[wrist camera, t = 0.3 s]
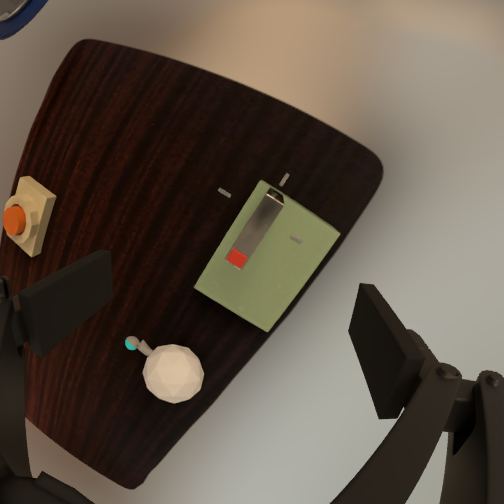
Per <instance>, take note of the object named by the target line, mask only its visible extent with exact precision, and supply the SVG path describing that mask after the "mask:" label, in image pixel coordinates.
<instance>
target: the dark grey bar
mask: <svg viewBox="0 0 504 504" xmlns="http://www.w3.org/2000/svg"><path fill="white" fill-rule="evenodd" d="M283 207H284V198H283V195H282V194H280V193H279V192H277V191H276V190H274V189H273V188H271V187H270V188H269V190H268V191H267V193H266V194H265V196H264V197H263V199H262V200H261V202H260V203H259V205H258V207H257V208H256V210H255V211H254V213H253V214H252V216H251V217H250V219H249V221H248V222H247V224H246V225H245V227H244V228H243V230H242V232H241V233H240V235H239V236H238V238H237V239H236V241H235V243H234V244H233V246H232V247H231V249H230V250H229V252H228V254H227V255H226V257H225V258H224V260H225V261H227V262H228V263H230V264H232V265H233V266H235V267H236V268H238V269H239V270H242V269H243V268H244V266H245V265H246V263H247V262H248V260H249V258H250V257H251V255H252V254H253V252H254V251H255V249H256V248H257V246H258V245H259V243H260V242H261V240H262V239H263V237H264V236H265V234H266V233H267V231H268V230H269V228H270V227H271V225H272V224H273V222H274V221H275V219H276V218H277V216H278V215H279V213H280V212H281V210H282V209H283Z"/></svg>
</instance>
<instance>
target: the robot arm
mask: <svg viewBox="0 0 504 504" xmlns="http://www.w3.org/2000/svg"><path fill="white" fill-rule="evenodd" d="M31 1H32V0H0V22H8V21H10V20H12V19H13V18H15V17H16V16H17V15H19V14H20V13H21V12H22V11H23V10H24V9H25V8H26V7H27V6H28V5H29V4H30V3H31ZM112 298H113V284H112V266H111V251H106V250H98V251H96V252H94V253H92V254H90V255H88V256H86V257H84V258H82V259H80V260H78V261H76V262H74V263H72V264H70V265H68V266H66V267H64V268H62V269H60V270H59V271H57V272H55V273H53V274H51V275H49V276H47V277H45V278H44V279H42V280H40V281H38V282H36V283H34V284H33V285H31V286H29V287H27V288H25V289H24V290H22V291H20V292H18V295H16V296H14V297H13V298H12V295H11V290H10V284H9V278H8V277H6V276H0V504H94V503H93V502H92V501H90V500H89V499H87V498H86V497H85V496H84V495H82V494H81V493H80V492H79V491H77V490H76V489H75V488H73V487H71V486H69V485H67V484H65V483H63V482H61V481H59V480H57V479H56V478H54V477H52V476H50V475H48V474H47V473H45V472H43V471H42V472H41V473H40V475H39V476H38V478H33V477H32V474H31V471H30V464H29V457H28V450H27V440H26V428H25V410H24V364H25V349H24V346H23V344H24V343H25V342H26V341H27V340H28V342H29V345H30V349H31V352H32V353H35V354H37V355H39V356H41V357H44V356H45V355H47V354H48V353H49V352H50V351H51V350H52V349H53V348H54V347H56V346H57V345H58V344H59V343H60V342H61V341H62V340H64V339H65V338H66V337H67V336H68V335H69V334H70V333H72V332H73V331H74V330H75V329H76V328H77V327H79V326H80V325H81V324H82V323H83V322H85V321H86V320H87V319H88V318H89V317H90V316H92V315H93V314H94V313H95V312H96V311H98V310H99V309H100V308H101V307H103V306H104V305H105V304H106V303H107V302H109V301H110V300H111V299H112ZM348 332H349V335H350V337H351V340H352V343H353V346H354V348H355V351H356V353H357V357H358V359H359V362H360V365H361V368H362V371H363V374H364V376H365V379H366V382H367V385H368V388H369V391H370V394H371V397H372V400H373V403H374V406H375V409H376V412H377V415H378V418H379V419H396V418H398V416H399V414H400V412H401V410H402V408H403V407H404V409H405V410H404V411H403V413H402V414H401V416H400V417H399V419H398V420H397V422H396V423H395V425H394V426H393V427H392V429H391V430H390V432H389V433H388V435H387V436H386V437H385V439H384V440H383V442H382V443H381V444H380V445H379V447H378V448H377V449H376V451H375V452H374V453H373V455H372V456H371V457H370V458H369V460H368V461H367V462H366V463H365V465H364V466H363V467H362V468H361V469H360V471H359V472H358V473H357V474H356V475H355V477H354V478H353V479H352V480H351V481H350V482H349V483H348V485H347V486H346V487H345V488H344V489H343V490H342V491H341V492H340V493H339V495H338V496H337V497H336V498H335V499H334V500H333V501H332V502H331V503H330V504H405V503H406V501H407V500H408V498H409V496H410V495H411V493H412V491H413V489H414V488H415V486H416V484H417V482H418V481H419V479H420V477H421V475H422V473H423V471H424V469H425V468H426V466H427V463H428V462H429V460H430V457H431V456H432V453H433V451H434V449H435V447H436V445H437V443H438V441H439V438H440V436H441V434H442V431H445V432H448V446H447V456H446V465H445V474H444V480H443V487H442V493H441V498H440V504H504V378H503V377H502V375H500V374H498V373H497V372H493V371H488V370H486V371H482V372H481V373H480V374H479V376H478V378H477V380H476V381H470V380H464V379H462V375H461V373H460V372H459V371H458V370H457V369H456V368H455V367H453V366H451V365H449V364H446V363H439V362H438V360H437V359H436V357H435V356H434V355H433V353H432V352H431V350H430V349H428V346H427V345H426V344H425V342H424V341H423V339H422V338H421V337H420V335H418V334H417V333H416V332H414V331H413V330H410V329H406V328H405V327H404V325H403V324H402V322H401V321H400V320H399V318H398V317H397V315H396V314H395V313H394V311H393V310H392V308H391V307H390V306H389V304H388V303H387V302H386V300H385V299H384V298H383V296H382V295H381V294H380V292H379V291H378V290H377V288H376V287H375V286H374V285H373V284H364V283H360V285H359V289H358V294H357V298H356V302H355V306H354V311H353V314H352V319H351V322H350V326H349V330H348Z"/></svg>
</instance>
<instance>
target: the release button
mask: <svg viewBox="0 0 504 504" xmlns="http://www.w3.org/2000/svg"><path fill="white" fill-rule="evenodd" d="M3 224H4V227H5V230H6V232H7V233H8V234H9V235H16V234H19V233H22V232H23V231H24V229H25V227H26V217H25V213H24V211H23V209H22V208H21V207H20V206H13V207H9V208H7V209H6V210H5V212H4V215H3Z"/></svg>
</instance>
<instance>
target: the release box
mask: <svg viewBox="0 0 504 504" xmlns="http://www.w3.org/2000/svg"><path fill="white" fill-rule="evenodd" d="M55 199H56V196H55V195H54V194H52V193H51V192H50V191H48V190H47V189H46V188H45V187H43V186H42V185H41V184H39V183H38V182H37V181H35V180H34V179H33V178H32V177H30V176H26V177H20V180H19V184H18V187H17V191H16V195H15V196H12V197H11V198H10V199H9V200H8V202H7V203H6V206H5V210H6V209H7V208H9V207H13V206H20V207H21V208H22V209H23V211H24V213H25V217H26V227H25V229H24V231H23V232H22V233H19V234H16V235H9V234H8V233H7V235H8V236H9V237H10V238H11V239H12V240H13V241H14V242H15V243H16V244H18V245H19V246H20V247H21V248H22V249H23V250H24V251H25V252H26V253H27V254H28V255H29V256H31V257H34V256H36V255H38V254H40V253H41V248H42V244H43V240H44V237H45V233H46V229H47V226H48V222H49V219H50V215H51V212H52V209H53V206H54V202H55ZM5 210H4V212H5Z"/></svg>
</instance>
